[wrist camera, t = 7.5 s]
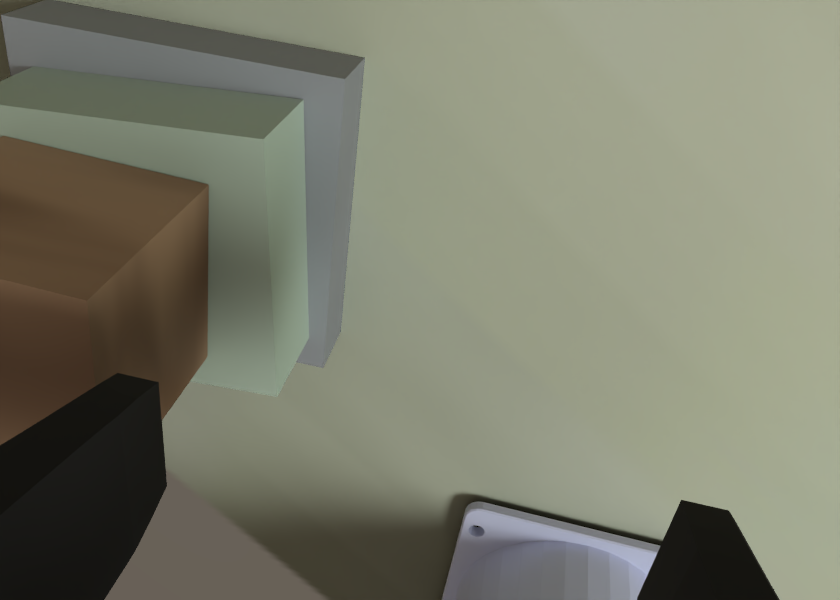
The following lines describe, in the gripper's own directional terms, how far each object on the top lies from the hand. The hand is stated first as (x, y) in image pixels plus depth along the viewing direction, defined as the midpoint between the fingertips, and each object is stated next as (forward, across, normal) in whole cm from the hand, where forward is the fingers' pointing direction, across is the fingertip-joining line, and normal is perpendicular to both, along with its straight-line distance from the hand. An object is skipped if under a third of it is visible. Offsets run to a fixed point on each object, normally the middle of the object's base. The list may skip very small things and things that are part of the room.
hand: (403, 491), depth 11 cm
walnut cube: (+6, +8, +1) cm, 10 cm away
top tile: (+9, +7, +1) cm, 11 cm away
